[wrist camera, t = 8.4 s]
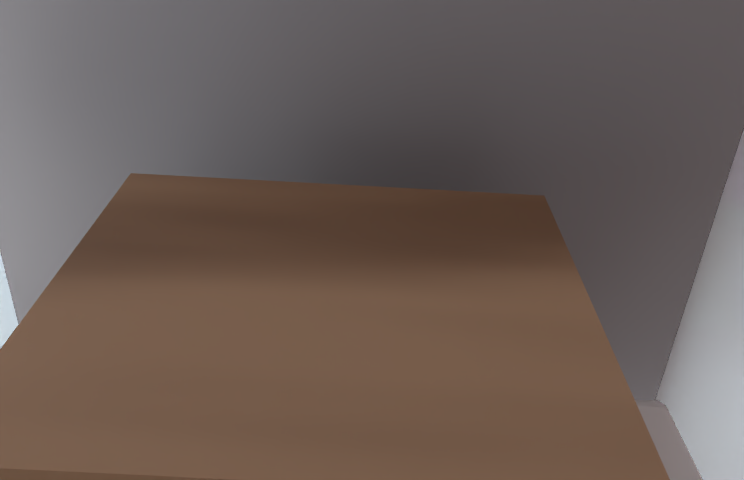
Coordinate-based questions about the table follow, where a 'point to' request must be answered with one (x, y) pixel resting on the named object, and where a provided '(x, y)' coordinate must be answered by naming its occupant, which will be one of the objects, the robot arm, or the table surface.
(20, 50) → the baseplate
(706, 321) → the table surface
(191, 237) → the walnut brick
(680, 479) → the robot arm
